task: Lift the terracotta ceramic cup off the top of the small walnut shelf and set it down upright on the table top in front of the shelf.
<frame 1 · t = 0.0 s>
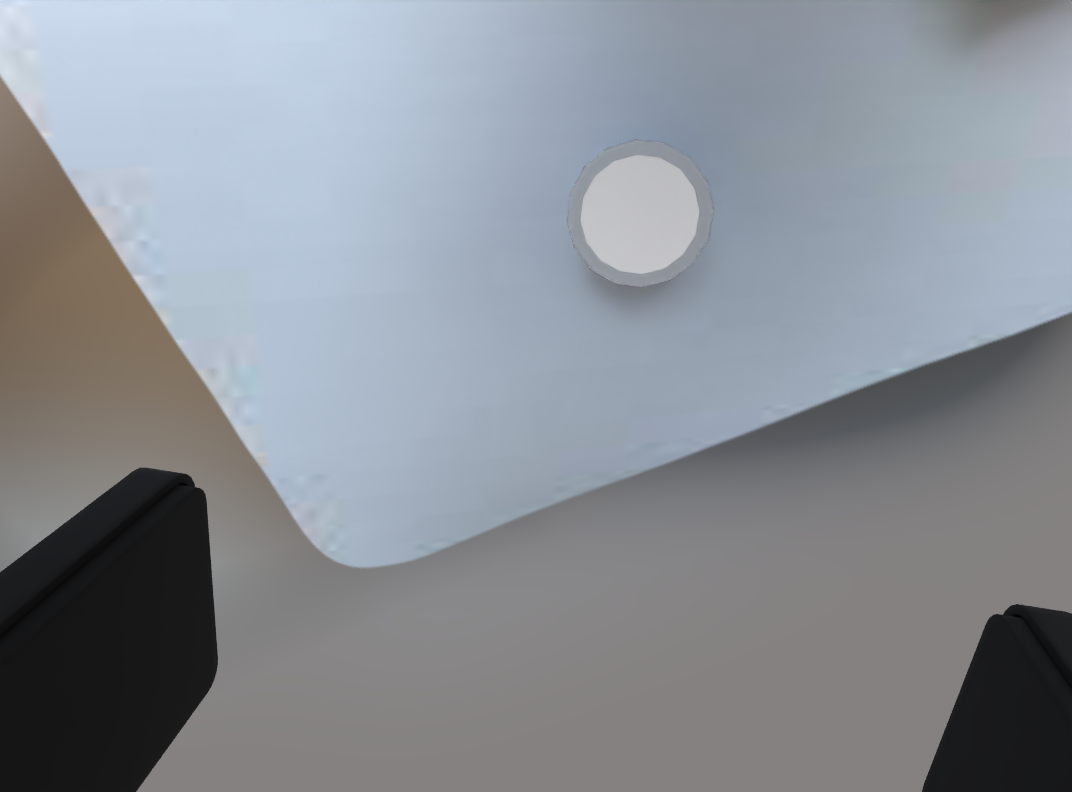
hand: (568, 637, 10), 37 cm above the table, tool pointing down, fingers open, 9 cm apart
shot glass: (641, 195, 44), on the table
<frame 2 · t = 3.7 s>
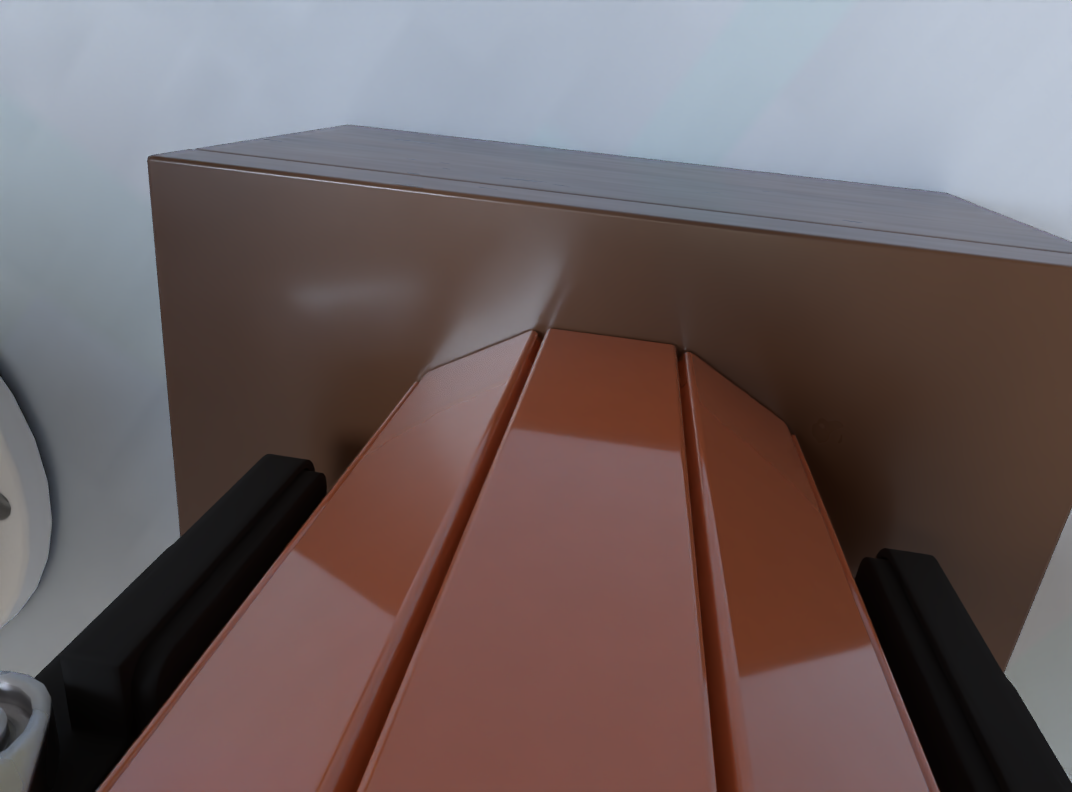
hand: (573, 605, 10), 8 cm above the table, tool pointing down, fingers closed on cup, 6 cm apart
cup: (580, 557, 11), point 7 cm above the table, touching gripper, shelf
shelf: (605, 381, 18), on the table
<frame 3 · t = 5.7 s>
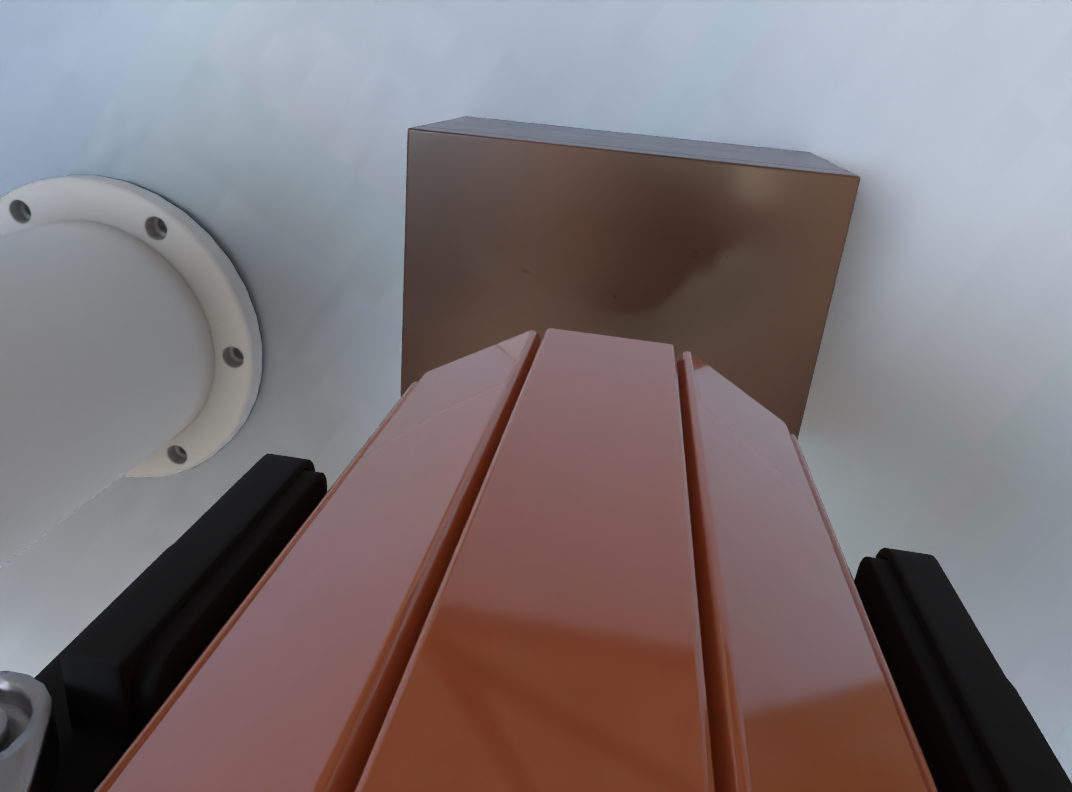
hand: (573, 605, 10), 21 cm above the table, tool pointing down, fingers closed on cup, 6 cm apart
cup: (579, 557, 11), point 19 cm above the table, touching gripper
shelf: (616, 270, 29), on the table
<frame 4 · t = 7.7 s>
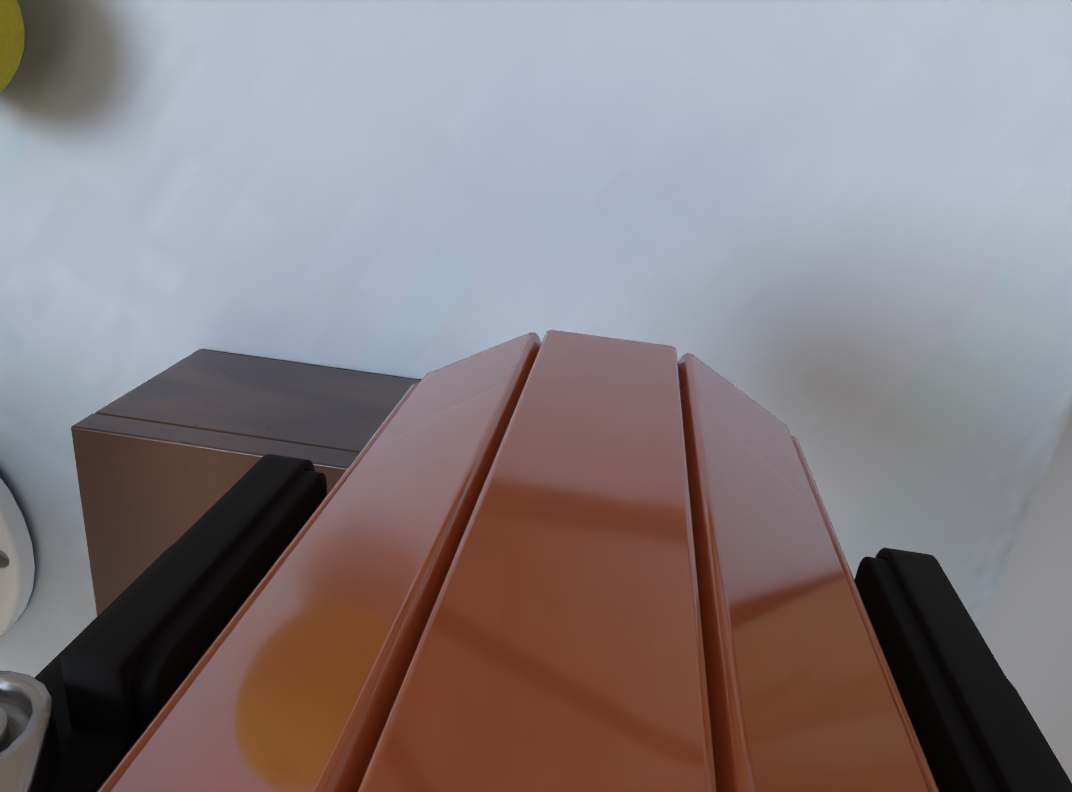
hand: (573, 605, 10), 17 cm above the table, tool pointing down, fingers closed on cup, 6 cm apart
cup: (580, 559, 11), point 16 cm above the table, touching gripper
shelf: (358, 489, 30), on the table
lemon: (4, 21, 26), on the table
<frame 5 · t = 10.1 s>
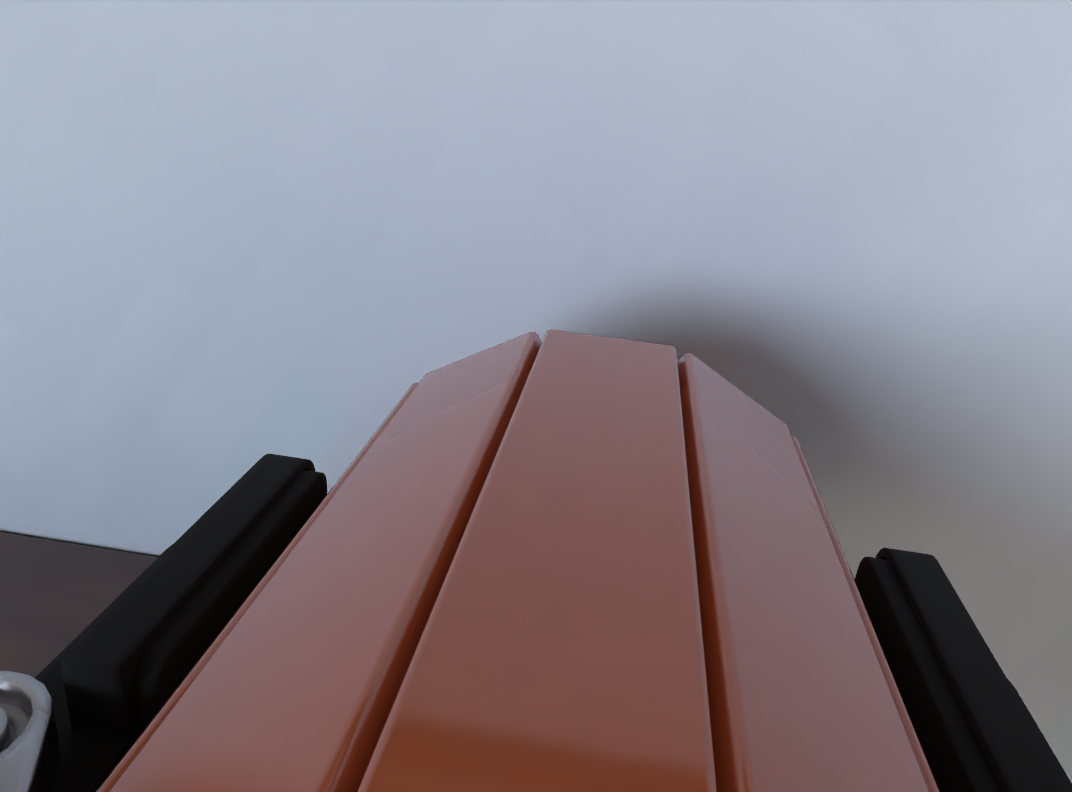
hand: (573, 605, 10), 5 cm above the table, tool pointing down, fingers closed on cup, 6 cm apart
cup: (580, 559, 11), point 4 cm above the table, touching gripper
shelf: (188, 726, 19), on the table
when the fingers open (1 cm above the table, at t = 11.7 s): cup stays where it is, on the table.
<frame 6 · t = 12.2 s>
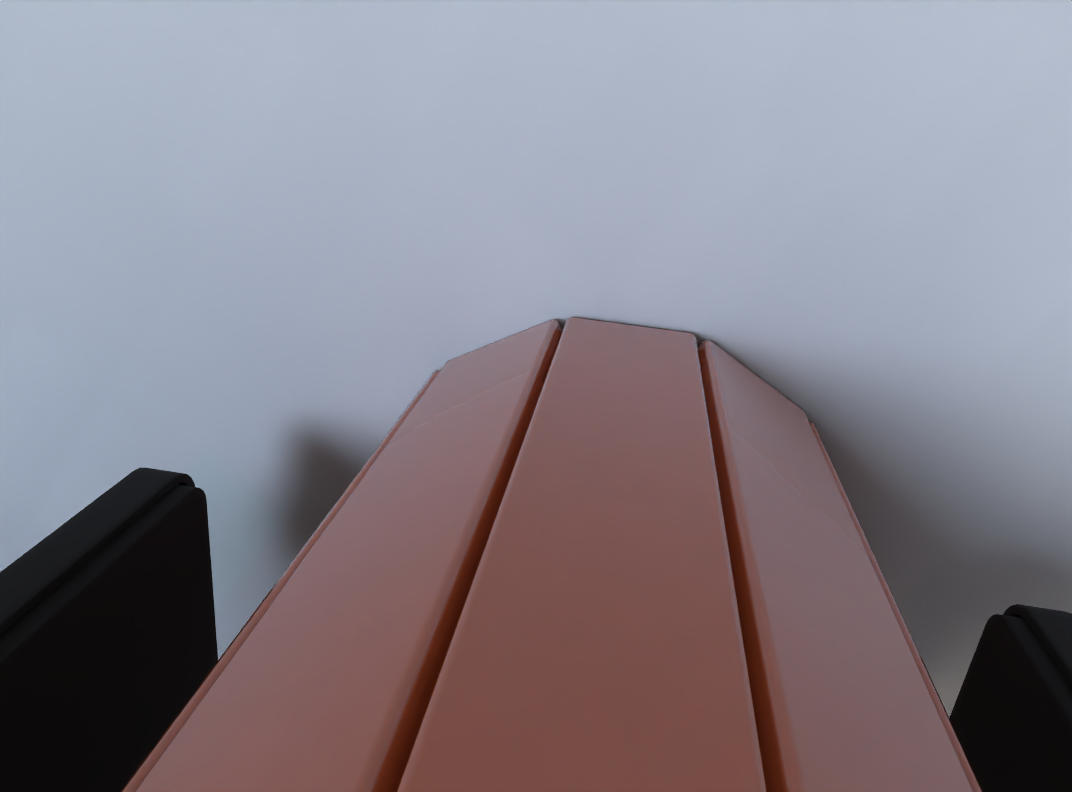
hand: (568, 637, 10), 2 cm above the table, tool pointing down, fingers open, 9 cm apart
cup: (598, 545, 11), on the table
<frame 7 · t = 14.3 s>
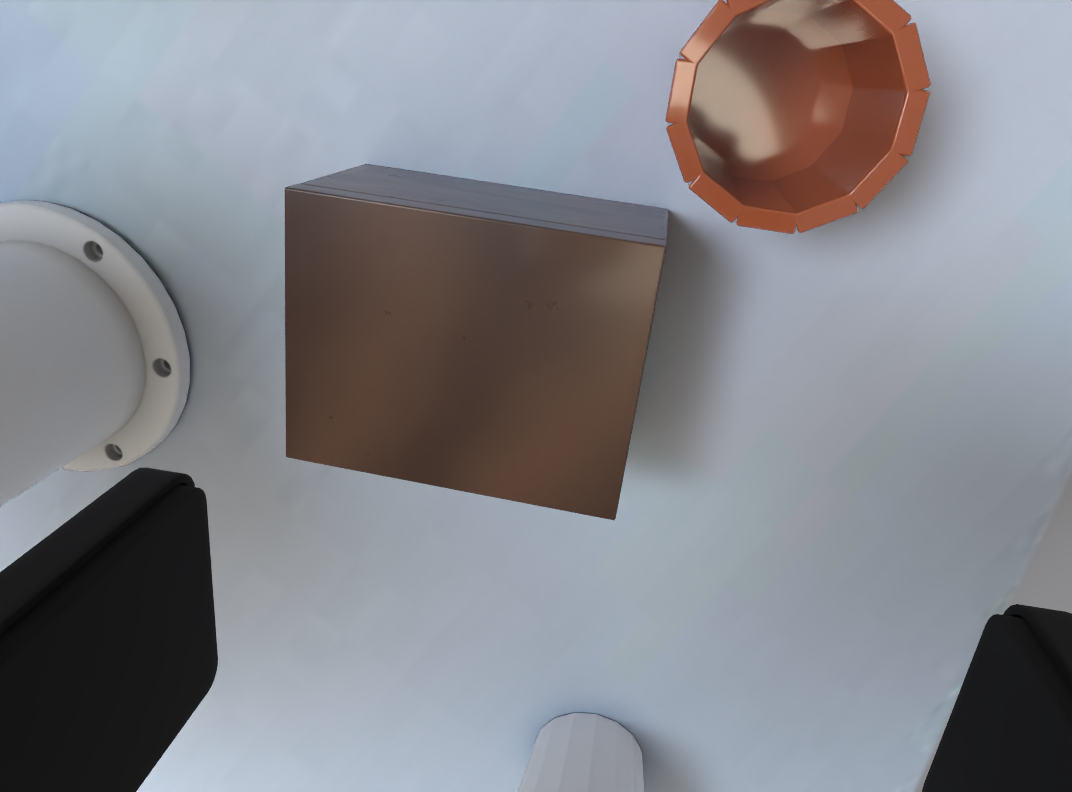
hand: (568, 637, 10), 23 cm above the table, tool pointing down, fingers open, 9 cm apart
cup: (765, 98, 28), on the table
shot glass: (588, 752, 41), on the table
shelf: (501, 304, 32), on the table
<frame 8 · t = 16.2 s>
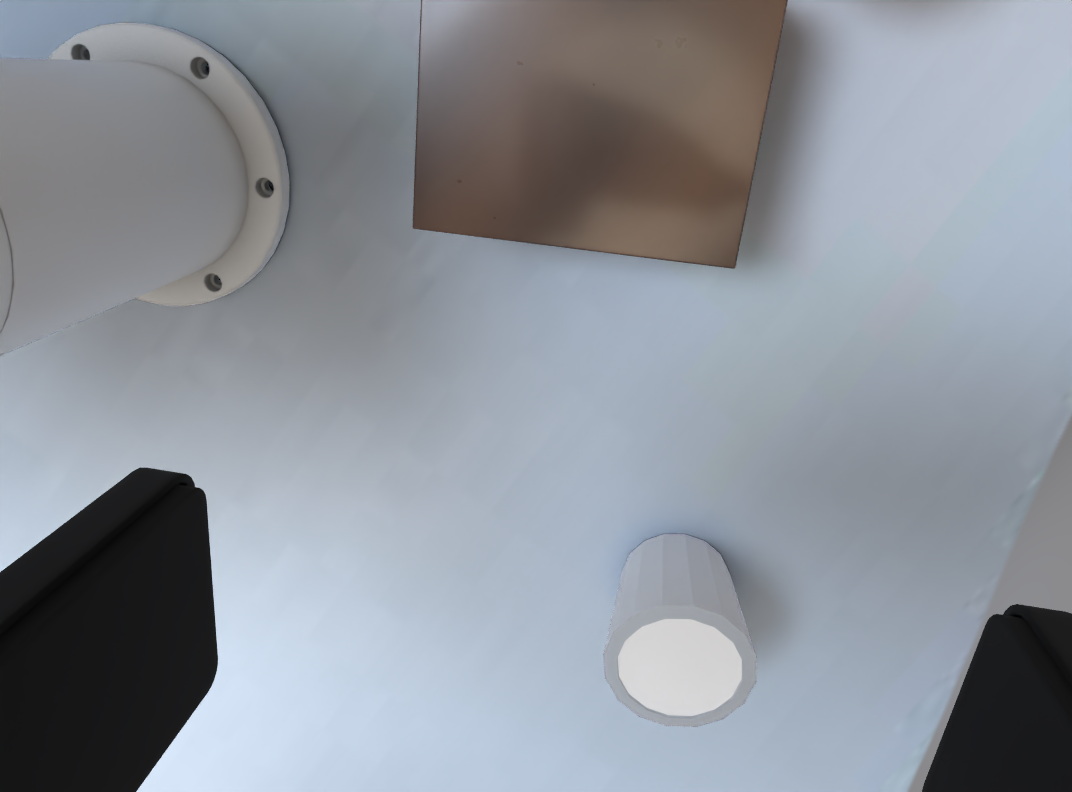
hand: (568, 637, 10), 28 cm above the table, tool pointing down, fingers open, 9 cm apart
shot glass: (675, 577, 42), on the table
shelf: (598, 104, 34), on the table
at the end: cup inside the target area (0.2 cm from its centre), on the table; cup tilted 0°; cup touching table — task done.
